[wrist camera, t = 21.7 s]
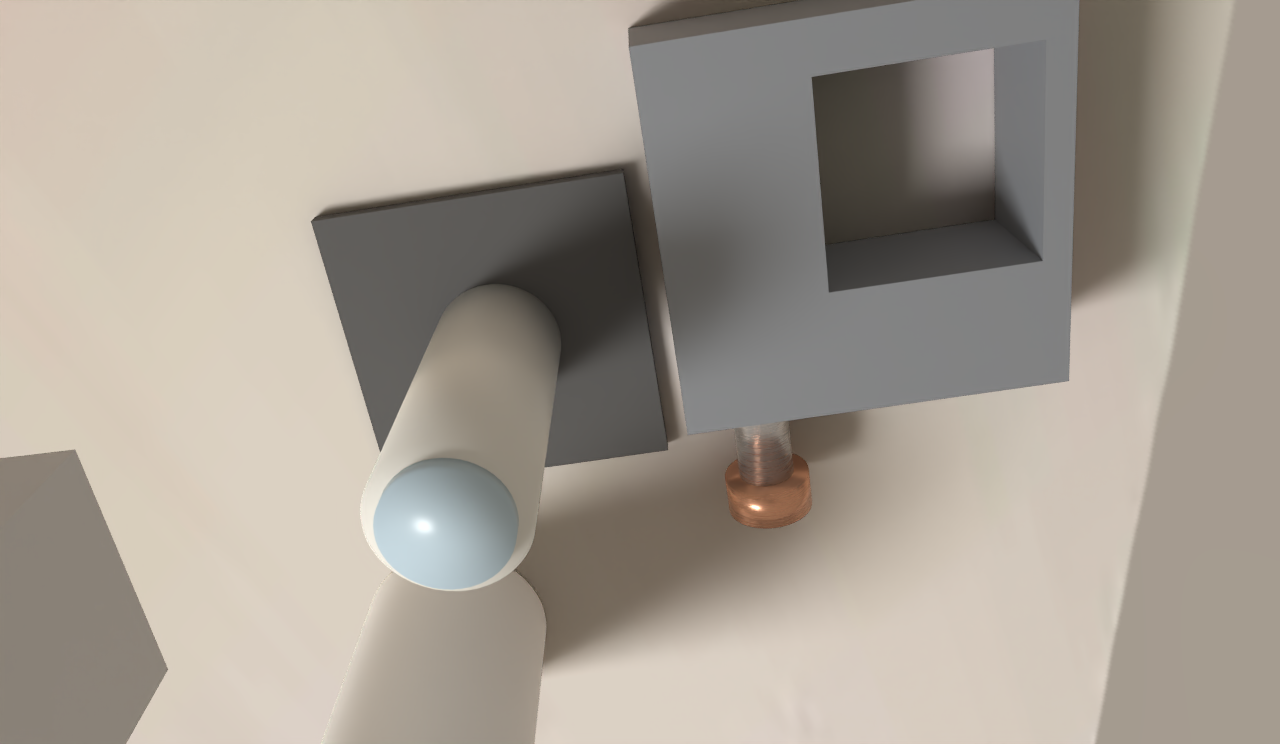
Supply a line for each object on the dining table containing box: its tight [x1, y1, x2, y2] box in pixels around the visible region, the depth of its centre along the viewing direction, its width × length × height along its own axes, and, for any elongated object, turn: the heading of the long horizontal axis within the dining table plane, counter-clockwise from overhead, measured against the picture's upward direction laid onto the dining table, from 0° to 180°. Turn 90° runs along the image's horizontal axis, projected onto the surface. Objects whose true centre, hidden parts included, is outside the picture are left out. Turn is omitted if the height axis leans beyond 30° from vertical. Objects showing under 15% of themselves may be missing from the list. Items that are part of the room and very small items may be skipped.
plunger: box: [725, 421, 812, 528], centre depth 40 cm, size 10×3×3 cm, turn 9°
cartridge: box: [360, 284, 561, 591], centre depth 35 cm, size 5×5×14 cm
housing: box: [628, 0, 1079, 435], centre depth 37 cm, size 14×14×5 cm
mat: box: [311, 169, 668, 467], centre depth 41 cm, size 12×12×1 cm
